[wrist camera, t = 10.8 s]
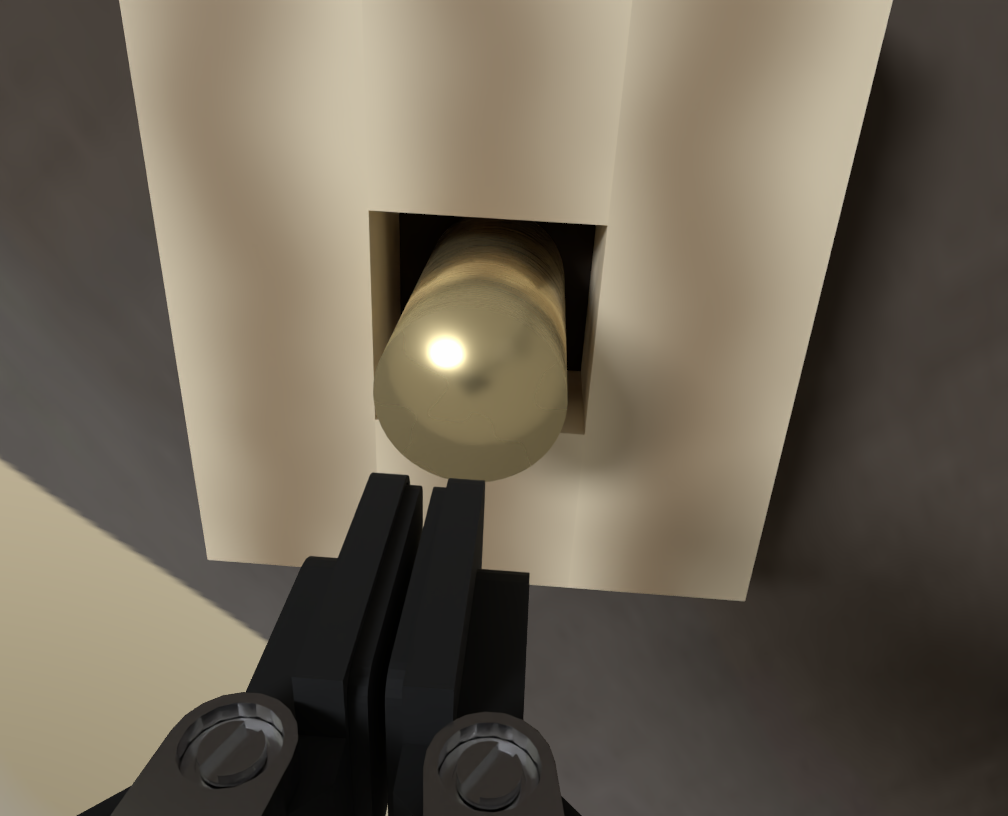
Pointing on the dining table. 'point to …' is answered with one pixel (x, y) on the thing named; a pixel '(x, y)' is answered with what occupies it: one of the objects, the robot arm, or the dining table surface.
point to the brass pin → (479, 354)
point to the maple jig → (503, 195)
